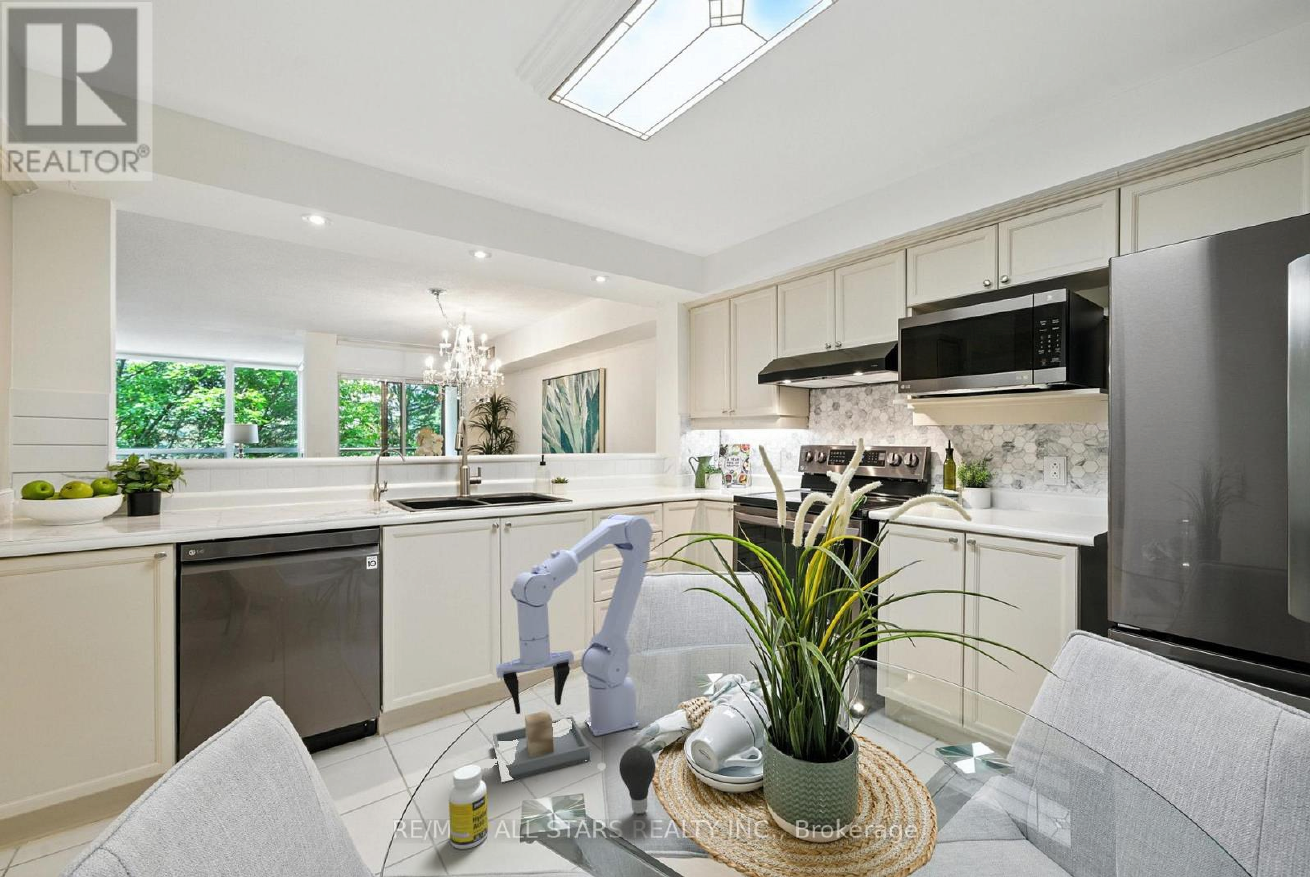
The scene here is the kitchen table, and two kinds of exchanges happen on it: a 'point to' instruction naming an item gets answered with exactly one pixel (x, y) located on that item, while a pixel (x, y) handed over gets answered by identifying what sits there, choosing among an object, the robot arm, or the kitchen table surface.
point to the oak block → (539, 733)
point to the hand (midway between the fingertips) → (538, 707)
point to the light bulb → (637, 775)
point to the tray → (565, 753)
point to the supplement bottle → (468, 808)
